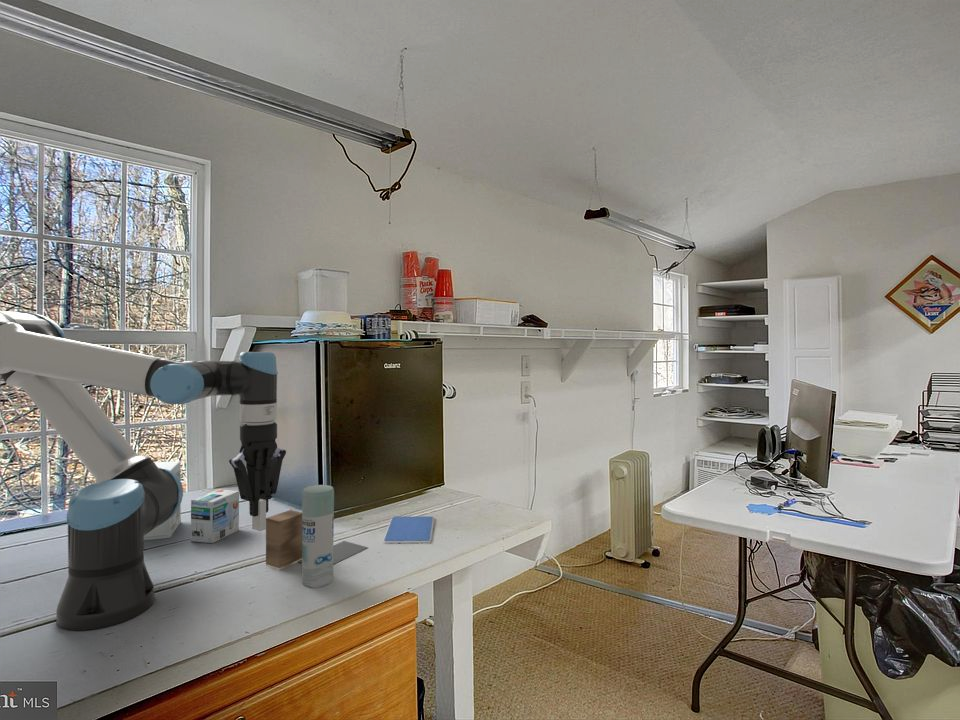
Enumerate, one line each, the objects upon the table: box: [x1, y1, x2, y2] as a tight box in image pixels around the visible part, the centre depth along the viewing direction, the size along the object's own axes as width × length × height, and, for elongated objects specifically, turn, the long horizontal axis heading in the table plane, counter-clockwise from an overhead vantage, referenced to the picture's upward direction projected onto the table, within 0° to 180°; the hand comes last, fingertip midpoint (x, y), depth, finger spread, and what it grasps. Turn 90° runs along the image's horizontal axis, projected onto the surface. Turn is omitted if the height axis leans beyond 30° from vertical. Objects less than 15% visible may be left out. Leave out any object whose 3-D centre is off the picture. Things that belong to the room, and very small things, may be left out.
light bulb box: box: [190, 489, 240, 544], centre depth 138 cm, size 11×7×11 cm, turn 168°
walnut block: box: [265, 509, 302, 571], centre depth 122 cm, size 7×4×11 cm, turn 150°
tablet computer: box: [382, 515, 435, 545], centre depth 144 cm, size 19×13×1 cm, turn 2°
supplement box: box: [144, 460, 182, 541], centre depth 139 cm, size 13×13×18 cm
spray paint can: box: [301, 484, 335, 589], centre depth 112 cm, size 6×6×20 cm
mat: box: [297, 540, 369, 566], centre depth 126 cm, size 15×8×1 cm, turn 150°
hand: (259, 528), depth 115 cm, fingers closed
